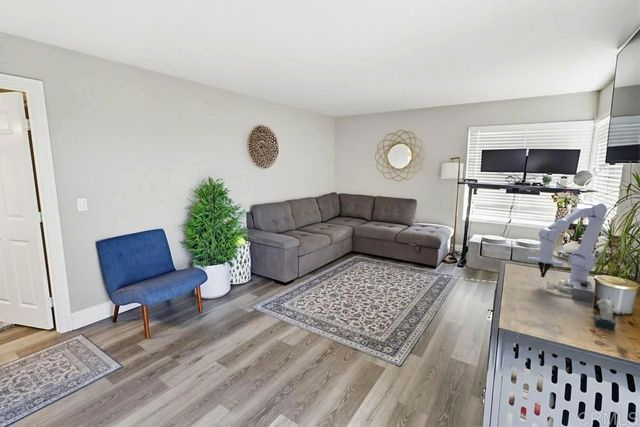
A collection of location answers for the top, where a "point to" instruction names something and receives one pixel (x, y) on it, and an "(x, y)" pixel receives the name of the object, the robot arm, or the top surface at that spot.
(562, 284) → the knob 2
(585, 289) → the mount
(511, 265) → the top surface
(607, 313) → the grey bust statue
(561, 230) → the robot arm
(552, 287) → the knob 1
